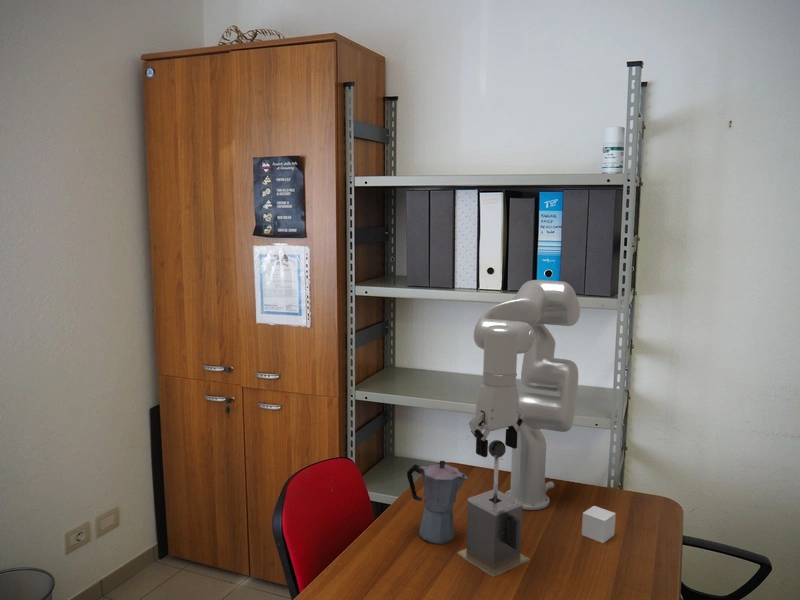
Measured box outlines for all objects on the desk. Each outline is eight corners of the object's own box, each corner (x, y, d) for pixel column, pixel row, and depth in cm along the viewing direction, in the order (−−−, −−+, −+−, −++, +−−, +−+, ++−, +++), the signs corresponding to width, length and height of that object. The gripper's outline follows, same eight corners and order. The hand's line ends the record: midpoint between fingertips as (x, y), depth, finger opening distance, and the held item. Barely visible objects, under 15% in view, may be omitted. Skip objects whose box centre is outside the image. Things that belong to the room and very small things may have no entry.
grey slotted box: (492, 539, 157) (494, 485, 156) (533, 563, 147) (536, 505, 145) (457, 554, 150) (459, 497, 148) (497, 580, 140) (500, 519, 138)
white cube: (614, 535, 161) (615, 513, 160) (603, 543, 157) (604, 521, 156) (592, 527, 165) (594, 505, 164) (581, 534, 161) (582, 512, 160)
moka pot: (463, 548, 153) (465, 470, 150) (401, 541, 156) (402, 464, 153) (467, 530, 162) (469, 456, 160) (408, 523, 165) (410, 450, 163)
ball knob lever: (494, 500, 152) (497, 434, 150) (514, 510, 147) (517, 441, 145) (475, 507, 148) (477, 439, 146) (495, 517, 143) (497, 447, 141)
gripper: (513, 371, 152) (510, 439, 154) (460, 380, 141) (458, 453, 143) (537, 377, 146) (533, 448, 148) (484, 388, 135) (481, 464, 137)
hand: (496, 451), depth 145 cm, fingers open, 9 cm apart
